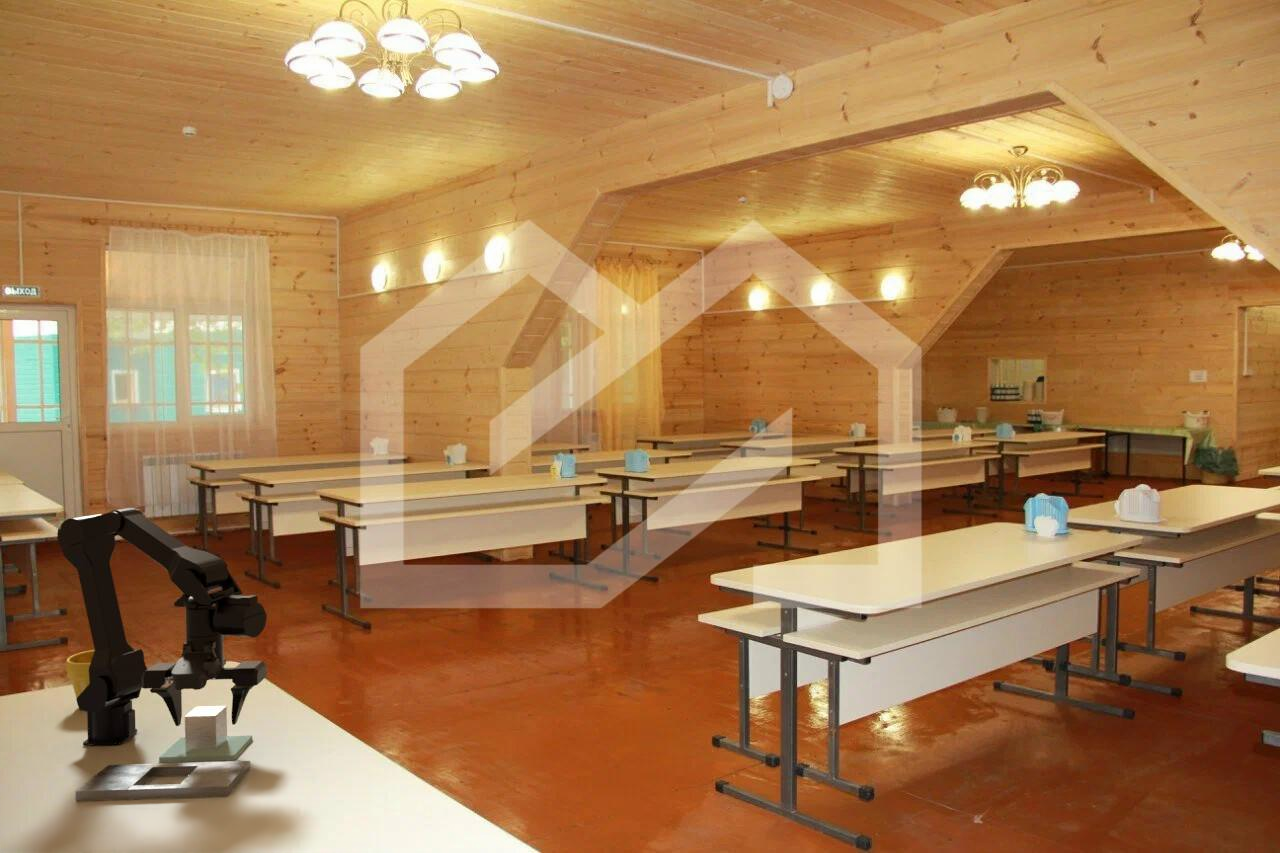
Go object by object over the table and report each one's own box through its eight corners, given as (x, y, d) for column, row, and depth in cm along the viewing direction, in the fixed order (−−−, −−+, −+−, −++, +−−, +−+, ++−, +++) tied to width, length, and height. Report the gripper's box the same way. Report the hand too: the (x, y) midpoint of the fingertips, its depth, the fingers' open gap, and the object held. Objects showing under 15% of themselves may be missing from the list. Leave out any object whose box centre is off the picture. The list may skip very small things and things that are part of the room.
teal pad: (159, 762, 158) (159, 757, 158) (181, 742, 167) (181, 737, 167) (234, 759, 159) (234, 755, 159) (252, 740, 168) (252, 735, 168)
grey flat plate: (75, 801, 143) (75, 791, 143) (108, 774, 153) (107, 765, 153) (227, 796, 145) (227, 786, 145) (250, 769, 155) (249, 760, 154)
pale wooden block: (185, 752, 160) (184, 716, 160) (197, 741, 165) (196, 706, 165) (216, 751, 160) (215, 715, 160) (227, 740, 165) (226, 705, 165)
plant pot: (110, 714, 181) (108, 663, 181) (55, 714, 182) (54, 662, 181) (139, 696, 192) (138, 648, 191) (87, 696, 192) (86, 648, 191)
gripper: (125, 647, 153) (127, 743, 154) (245, 644, 155) (247, 740, 155) (155, 629, 164) (157, 719, 165) (267, 627, 166) (268, 716, 166)
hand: (206, 724), depth 163 cm, fingers open, 9 cm apart
